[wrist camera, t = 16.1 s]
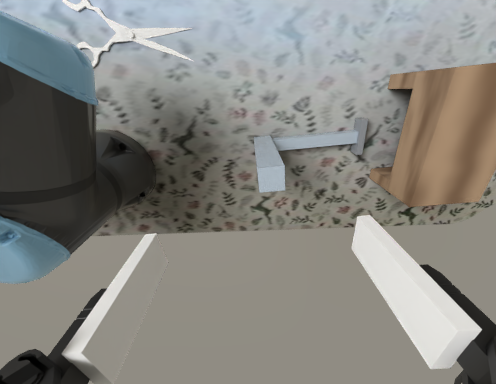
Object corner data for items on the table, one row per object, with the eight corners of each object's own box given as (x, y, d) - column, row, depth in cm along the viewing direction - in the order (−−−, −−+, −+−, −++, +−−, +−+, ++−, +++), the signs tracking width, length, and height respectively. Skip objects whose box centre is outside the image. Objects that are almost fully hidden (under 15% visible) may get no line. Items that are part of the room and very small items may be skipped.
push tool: (255, 160, 38) (260, 203, 23) (253, 128, 35) (256, 155, 21) (356, 151, 37) (423, 189, 22) (361, 117, 34) (442, 137, 20)
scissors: (41, -26, 26) (193, -4, 26) (46, -23, 26) (195, -1, 27) (66, 68, 30) (194, 85, 31) (70, 69, 31) (196, 85, 32)
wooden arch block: (369, 178, 39) (409, 207, 29) (390, 74, 31) (456, 67, 21) (420, 173, 39) (478, 201, 29) (456, 67, 30) (554, 56, 21)
